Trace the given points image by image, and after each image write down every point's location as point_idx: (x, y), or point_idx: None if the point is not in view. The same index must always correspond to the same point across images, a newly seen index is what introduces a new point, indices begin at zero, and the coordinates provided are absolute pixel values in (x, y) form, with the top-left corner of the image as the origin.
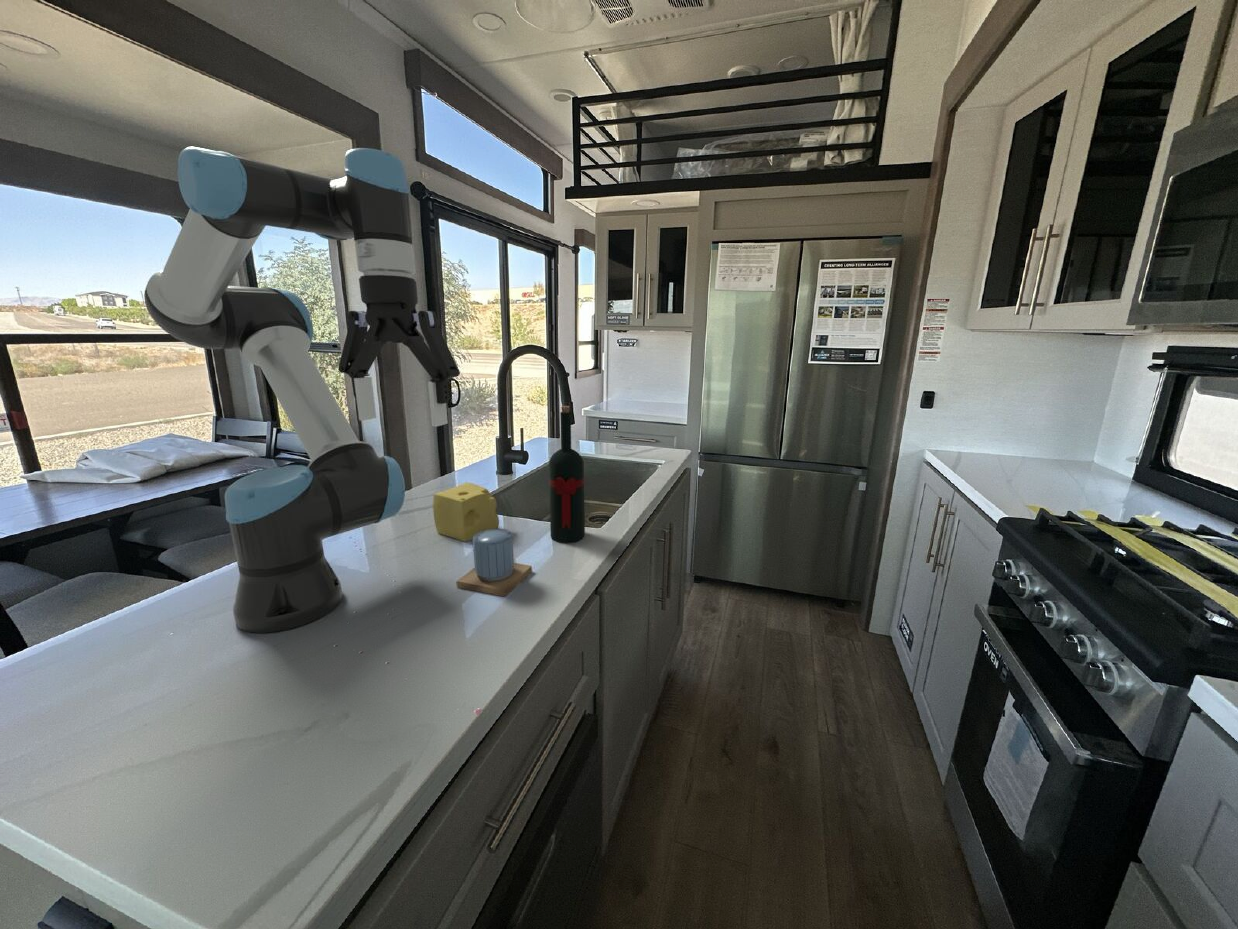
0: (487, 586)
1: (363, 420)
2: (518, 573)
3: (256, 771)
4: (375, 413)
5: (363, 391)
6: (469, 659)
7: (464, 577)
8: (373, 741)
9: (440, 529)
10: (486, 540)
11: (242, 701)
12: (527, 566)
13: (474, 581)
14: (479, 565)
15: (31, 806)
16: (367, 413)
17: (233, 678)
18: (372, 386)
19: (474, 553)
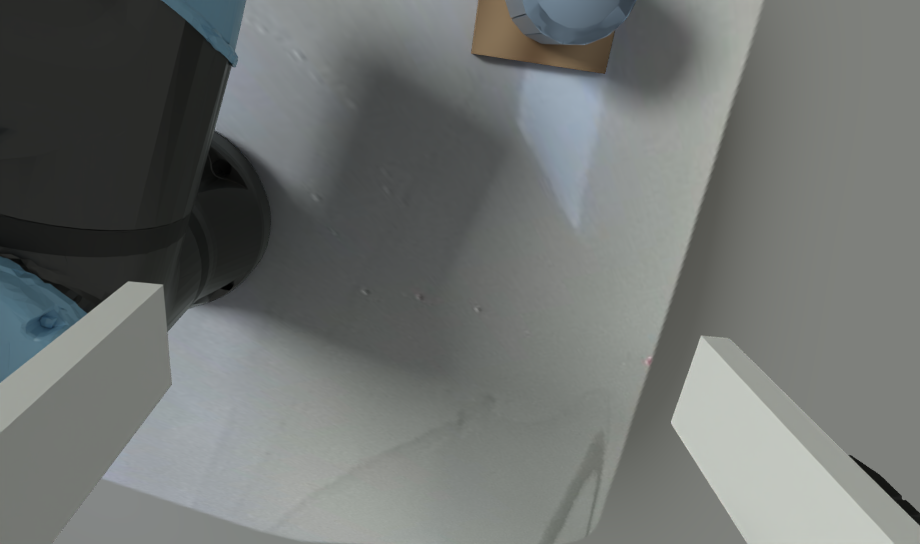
0: (558, 64)
1: (170, 380)
2: None
3: (452, 469)
4: (148, 302)
5: (51, 505)
6: (601, 277)
7: (483, 30)
8: (547, 420)
9: None
10: (571, 11)
11: (341, 407)
12: None
13: (517, 46)
14: (539, 39)
15: (285, 530)
16: (148, 370)
17: (284, 379)
18: (1, 436)
19: (524, 22)
